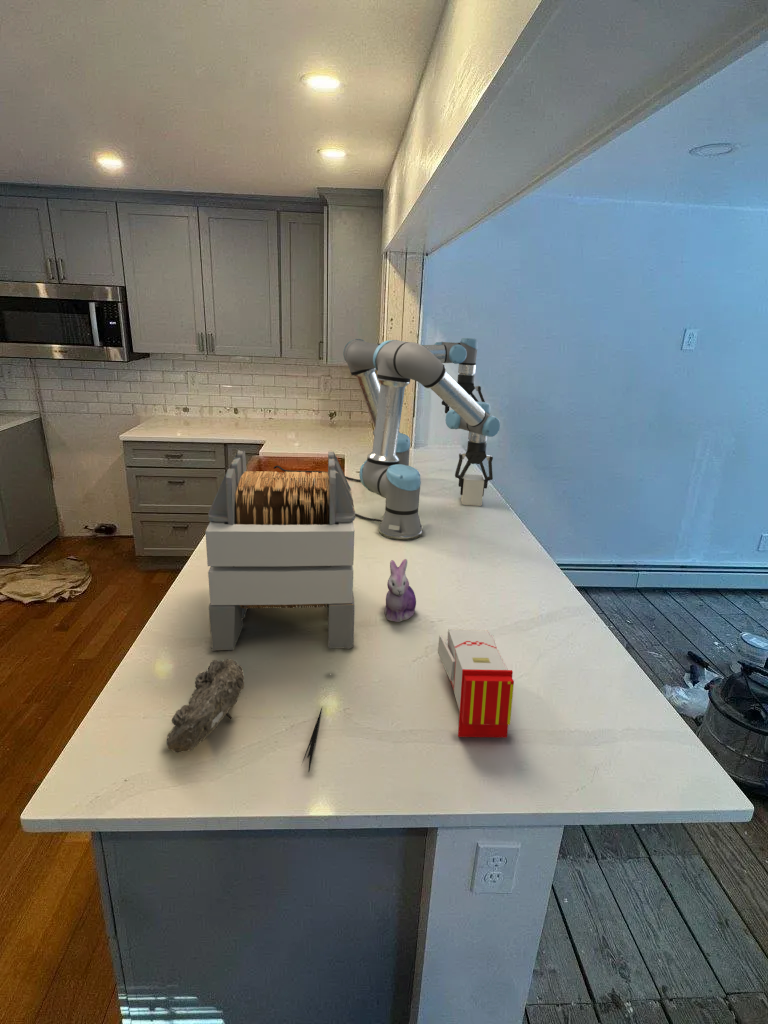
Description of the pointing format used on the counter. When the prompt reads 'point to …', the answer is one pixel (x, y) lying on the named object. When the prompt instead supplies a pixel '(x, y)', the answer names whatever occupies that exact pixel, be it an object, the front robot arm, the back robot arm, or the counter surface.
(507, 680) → the toy
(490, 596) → the counter surface
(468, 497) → the brick
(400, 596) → the figurine
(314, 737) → the feather
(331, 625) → the record crate
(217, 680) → the fossil
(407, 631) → the counter surface
